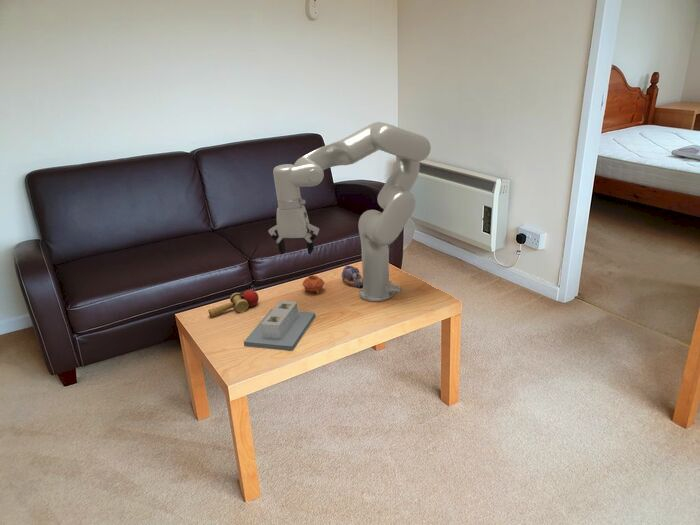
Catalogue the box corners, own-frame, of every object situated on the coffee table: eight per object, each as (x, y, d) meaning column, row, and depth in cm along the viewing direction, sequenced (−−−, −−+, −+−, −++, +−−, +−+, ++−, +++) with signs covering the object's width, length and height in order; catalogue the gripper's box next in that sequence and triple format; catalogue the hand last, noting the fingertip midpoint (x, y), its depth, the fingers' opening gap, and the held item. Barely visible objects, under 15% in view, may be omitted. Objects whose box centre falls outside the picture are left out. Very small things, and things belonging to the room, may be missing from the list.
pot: (308, 284, 200) (311, 269, 197) (326, 292, 197) (328, 276, 194) (297, 292, 194) (299, 276, 191) (314, 300, 191) (317, 284, 188)
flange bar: (280, 339, 160) (278, 325, 158) (262, 337, 162) (260, 323, 160) (298, 315, 174) (297, 302, 172) (281, 314, 176) (280, 300, 174)
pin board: (315, 316, 176) (314, 303, 174) (292, 350, 157) (291, 336, 155) (271, 313, 180) (270, 300, 178) (244, 345, 161) (242, 331, 159)
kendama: (216, 325, 177) (264, 304, 184) (210, 309, 175) (258, 288, 182) (210, 320, 184) (256, 300, 191) (204, 304, 182) (251, 284, 189)
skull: (370, 287, 196) (369, 272, 194) (352, 291, 193) (351, 276, 191) (356, 276, 206) (355, 262, 204) (338, 280, 203) (338, 266, 201)
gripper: (318, 199, 168) (324, 248, 175) (268, 200, 172) (276, 248, 179) (312, 206, 161) (318, 257, 168) (260, 207, 165) (268, 257, 172)
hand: (296, 252), depth 173 cm, fingers open, 9 cm apart
